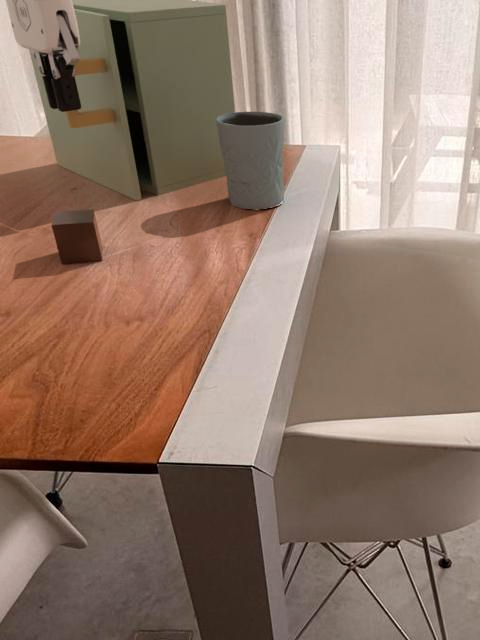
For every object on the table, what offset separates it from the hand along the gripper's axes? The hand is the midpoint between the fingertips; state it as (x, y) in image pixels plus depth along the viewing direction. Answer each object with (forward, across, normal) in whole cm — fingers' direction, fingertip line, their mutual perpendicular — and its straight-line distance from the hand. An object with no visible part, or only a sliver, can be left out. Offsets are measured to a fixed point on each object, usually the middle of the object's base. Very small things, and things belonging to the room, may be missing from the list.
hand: (65, 107), depth 96 cm
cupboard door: (+13, -11, +4) cm, 18 cm away
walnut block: (+14, +17, -10) cm, 24 cm away
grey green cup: (+14, +15, +21) cm, 29 cm away
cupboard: (+14, -12, +18) cm, 26 cm away
